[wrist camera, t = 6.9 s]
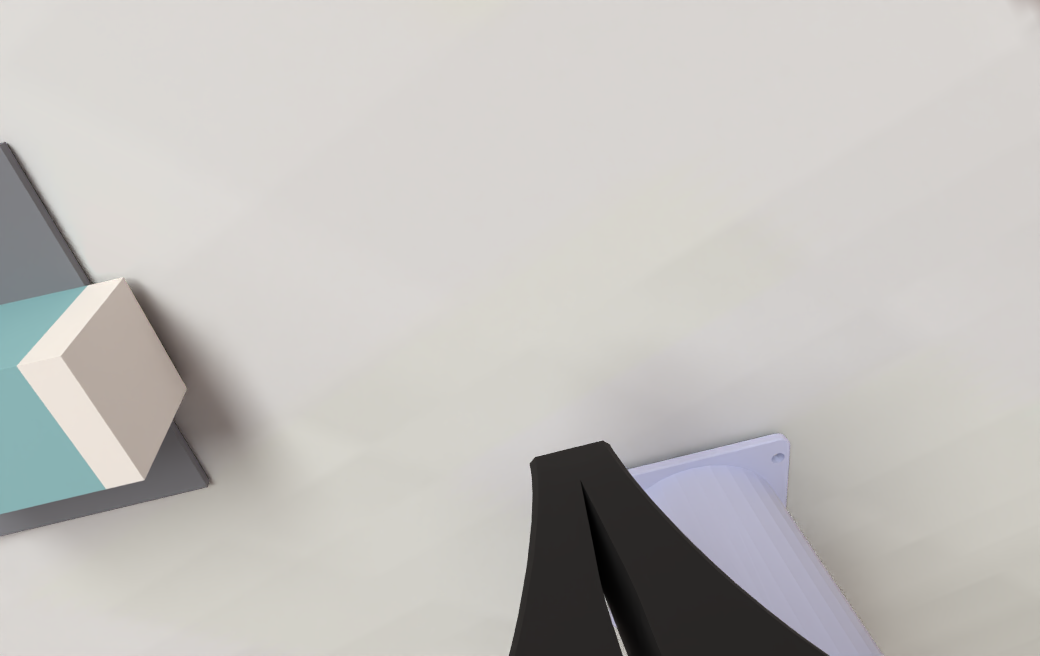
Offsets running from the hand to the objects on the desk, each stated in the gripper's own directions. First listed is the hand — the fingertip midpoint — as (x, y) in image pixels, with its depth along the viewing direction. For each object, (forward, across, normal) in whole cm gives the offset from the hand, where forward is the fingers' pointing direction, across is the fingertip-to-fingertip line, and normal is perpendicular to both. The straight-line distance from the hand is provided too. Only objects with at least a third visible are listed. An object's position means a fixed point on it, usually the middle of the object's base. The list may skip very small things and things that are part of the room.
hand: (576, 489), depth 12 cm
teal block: (+8, +10, 0) cm, 13 cm away
